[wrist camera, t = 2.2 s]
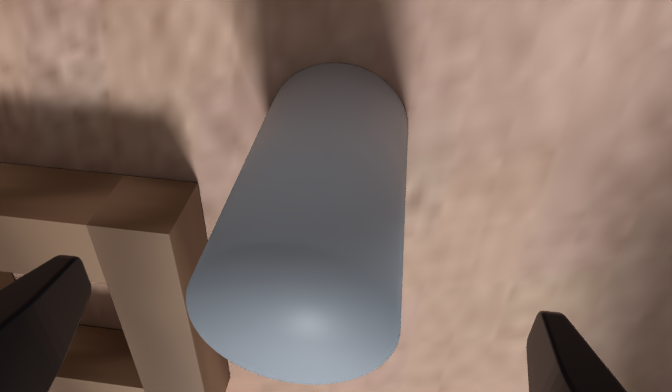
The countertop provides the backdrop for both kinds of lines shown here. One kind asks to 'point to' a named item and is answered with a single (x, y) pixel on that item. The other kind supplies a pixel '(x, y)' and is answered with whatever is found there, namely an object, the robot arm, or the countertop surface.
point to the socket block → (117, 272)
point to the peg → (311, 235)
